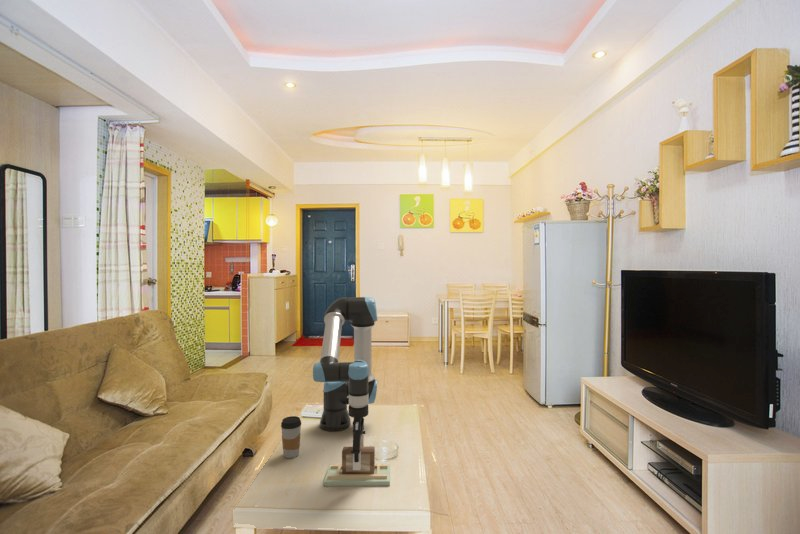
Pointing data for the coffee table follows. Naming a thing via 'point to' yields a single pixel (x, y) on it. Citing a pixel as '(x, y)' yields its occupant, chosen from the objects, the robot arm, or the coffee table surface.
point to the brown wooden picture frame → (366, 460)
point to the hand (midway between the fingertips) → (358, 460)
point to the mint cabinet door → (357, 477)
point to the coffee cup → (291, 436)
